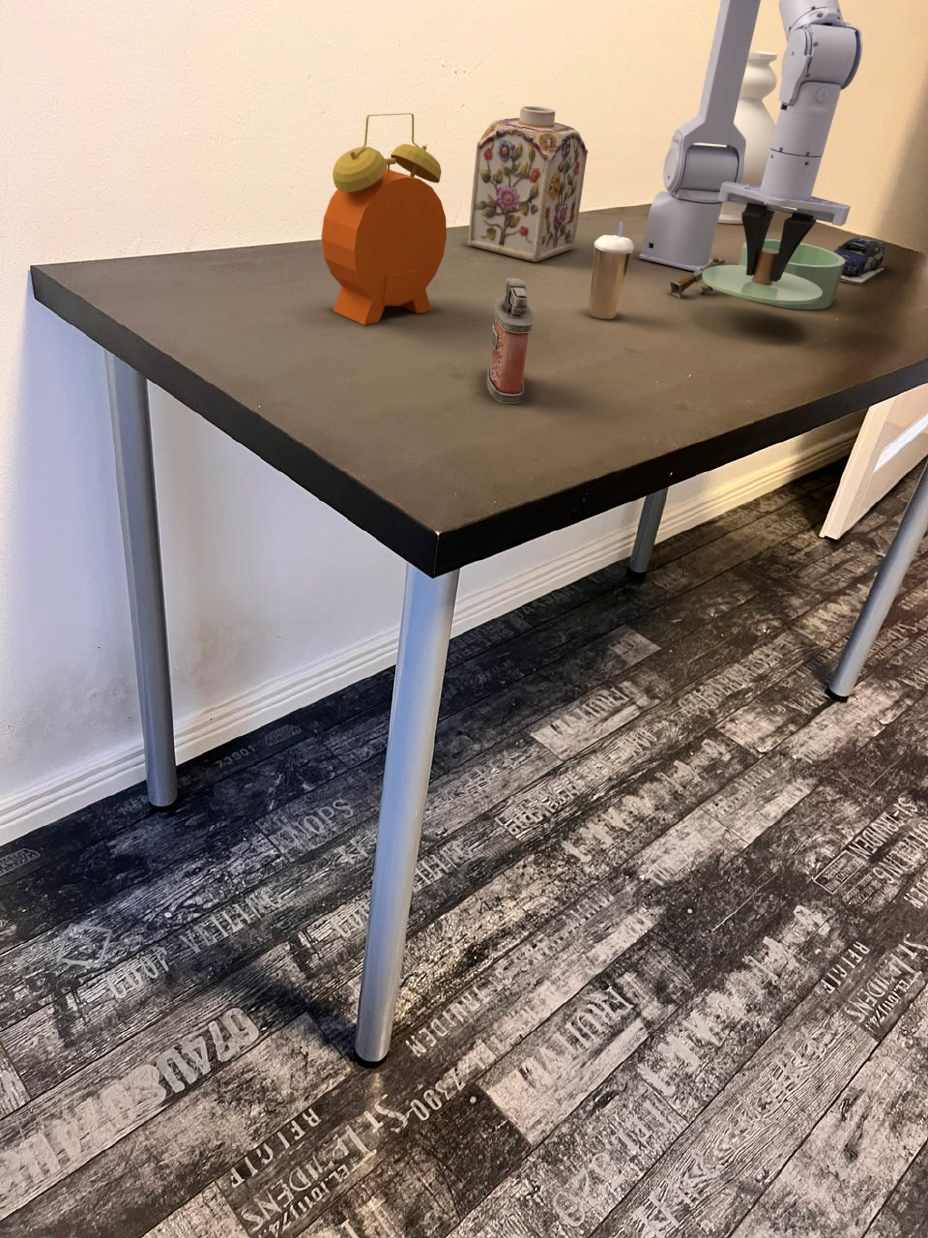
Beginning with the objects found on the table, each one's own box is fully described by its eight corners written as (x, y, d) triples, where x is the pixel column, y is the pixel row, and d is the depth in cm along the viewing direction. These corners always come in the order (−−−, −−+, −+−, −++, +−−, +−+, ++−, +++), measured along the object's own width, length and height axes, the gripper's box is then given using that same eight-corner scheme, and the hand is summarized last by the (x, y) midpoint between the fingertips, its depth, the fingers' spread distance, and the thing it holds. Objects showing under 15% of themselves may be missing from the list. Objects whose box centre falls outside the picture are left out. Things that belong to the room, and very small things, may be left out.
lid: (683, 289, 112) (692, 247, 109) (722, 267, 122) (732, 228, 120) (801, 318, 107) (814, 275, 104) (832, 292, 117) (845, 253, 114)
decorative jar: (575, 250, 139) (596, 111, 128) (537, 264, 130) (556, 117, 120) (505, 232, 143) (520, 98, 133) (464, 245, 135) (476, 102, 125)
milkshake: (625, 311, 116) (641, 225, 111) (616, 323, 112) (632, 235, 106) (589, 304, 117) (603, 219, 112) (579, 316, 113) (593, 228, 107)
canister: (719, 292, 127) (730, 249, 124) (750, 273, 137) (761, 233, 134) (817, 316, 122) (830, 272, 119) (842, 295, 132) (855, 254, 128)
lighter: (483, 370, 96) (493, 268, 90) (516, 372, 96) (529, 271, 90) (491, 402, 89) (503, 294, 83) (527, 404, 90) (541, 297, 84)
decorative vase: (666, 218, 162) (701, 48, 147) (665, 197, 176) (696, 41, 162) (772, 232, 160) (817, 62, 146) (762, 210, 175) (802, 53, 160)
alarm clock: (407, 294, 114) (417, 107, 103) (442, 308, 111) (457, 116, 99) (318, 311, 106) (318, 110, 94) (353, 327, 103) (358, 121, 91)
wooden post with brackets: (731, 286, 126) (728, 255, 123) (682, 314, 125) (678, 283, 122) (722, 282, 128) (719, 251, 125) (674, 310, 127) (669, 279, 123)
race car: (858, 285, 137) (869, 253, 134) (813, 274, 139) (822, 242, 137) (885, 267, 147) (895, 237, 145) (842, 257, 150) (851, 227, 147)
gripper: (722, 143, 106) (694, 269, 113) (853, 167, 100) (814, 297, 108) (742, 138, 111) (714, 258, 118) (868, 160, 105) (829, 285, 113)
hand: (763, 276), depth 113 cm, fingers closed on lid, 2 cm apart
